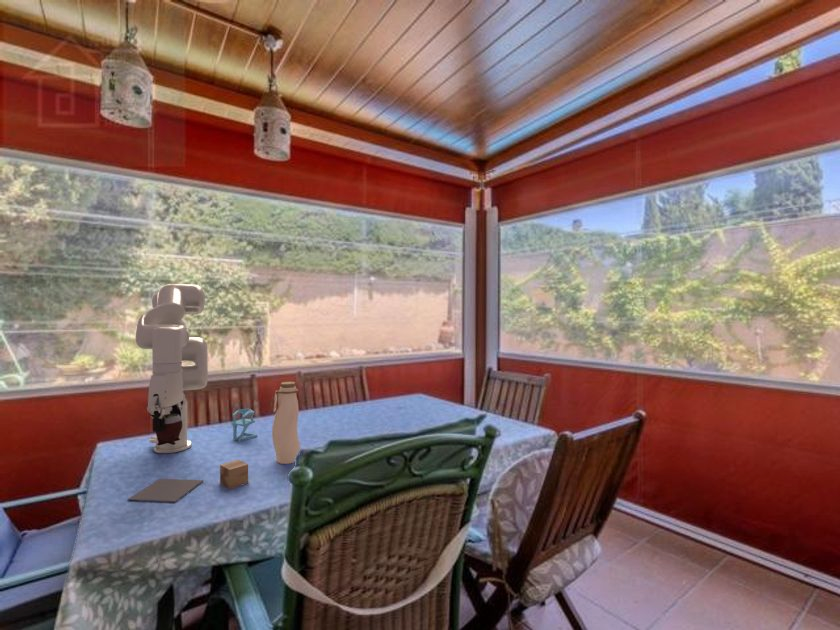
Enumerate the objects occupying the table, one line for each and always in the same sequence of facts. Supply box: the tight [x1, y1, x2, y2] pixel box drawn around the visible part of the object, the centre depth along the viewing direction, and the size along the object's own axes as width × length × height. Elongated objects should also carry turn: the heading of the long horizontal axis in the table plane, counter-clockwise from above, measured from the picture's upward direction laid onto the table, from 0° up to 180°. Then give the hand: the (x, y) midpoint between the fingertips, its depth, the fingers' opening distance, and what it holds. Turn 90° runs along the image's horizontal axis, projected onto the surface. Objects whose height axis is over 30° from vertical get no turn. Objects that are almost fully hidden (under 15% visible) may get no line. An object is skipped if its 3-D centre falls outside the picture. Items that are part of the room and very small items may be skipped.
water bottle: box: [270, 381, 301, 465], centre depth 152 cm, size 10×9×28 cm
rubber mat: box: [127, 478, 204, 503], centre depth 127 cm, size 14×14×1 cm
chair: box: [231, 407, 258, 442], centre depth 176 cm, size 8×8×12 cm
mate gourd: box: [146, 393, 182, 446], centre depth 126 cm, size 8×8×15 cm
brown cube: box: [219, 459, 249, 490], centre depth 133 cm, size 6×6×6 cm
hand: (167, 427), depth 126 cm, fingers closed on mate gourd, 7 cm apart
